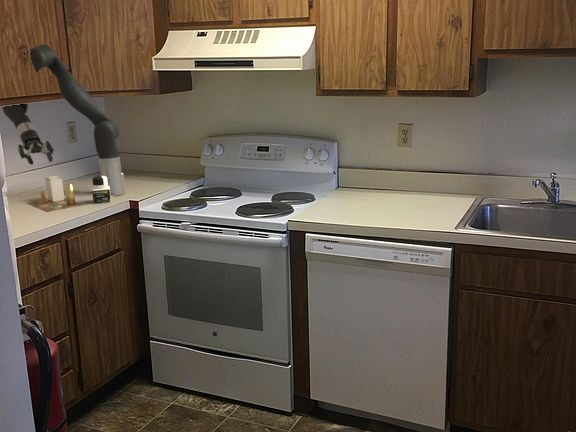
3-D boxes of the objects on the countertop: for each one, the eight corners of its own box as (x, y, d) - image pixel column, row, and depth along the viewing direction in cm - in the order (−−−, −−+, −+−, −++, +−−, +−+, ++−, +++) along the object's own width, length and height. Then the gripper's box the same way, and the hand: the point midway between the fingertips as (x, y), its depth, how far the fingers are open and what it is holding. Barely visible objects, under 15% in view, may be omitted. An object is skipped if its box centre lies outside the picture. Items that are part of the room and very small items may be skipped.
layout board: (62, 199, 287) (60, 185, 285) (85, 207, 269) (83, 193, 268) (25, 205, 277) (23, 191, 275) (47, 214, 259) (45, 199, 257)
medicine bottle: (93, 206, 270) (90, 178, 267) (94, 203, 277) (90, 175, 274) (111, 205, 272) (108, 177, 269) (111, 201, 278) (108, 174, 275)
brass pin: (73, 203, 271) (70, 182, 269) (76, 204, 269) (74, 183, 267) (66, 205, 269) (63, 184, 267) (69, 206, 267) (66, 185, 265)
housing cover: (59, 197, 285) (56, 175, 282) (64, 199, 280) (61, 177, 278) (48, 199, 282) (44, 177, 279) (53, 201, 277) (50, 178, 275)
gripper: (13, 131, 283) (27, 159, 278) (45, 127, 292) (59, 154, 287) (11, 141, 288) (24, 169, 283) (42, 138, 298) (55, 165, 292)
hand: (41, 162), depth 285 cm, fingers open, 8 cm apart
